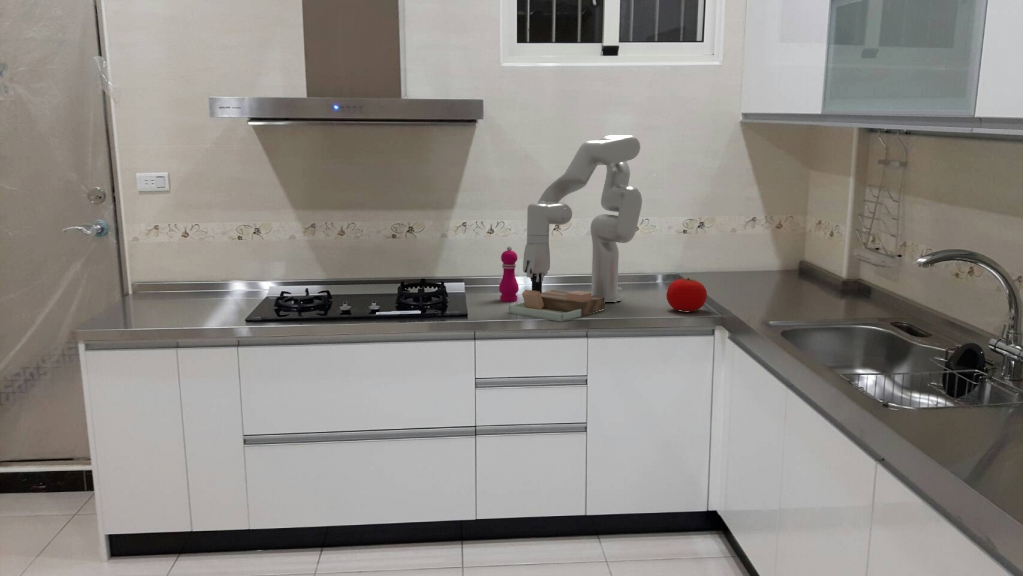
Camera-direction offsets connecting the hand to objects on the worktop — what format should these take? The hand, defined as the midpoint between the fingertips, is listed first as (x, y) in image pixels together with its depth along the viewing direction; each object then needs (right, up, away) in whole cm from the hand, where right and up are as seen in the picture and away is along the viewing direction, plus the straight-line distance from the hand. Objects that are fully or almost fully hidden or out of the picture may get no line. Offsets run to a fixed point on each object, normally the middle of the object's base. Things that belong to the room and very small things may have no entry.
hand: (536, 292), depth 275 cm
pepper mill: (-10, -3, +18) cm, 20 cm away
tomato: (+52, -7, +2) cm, 52 cm away
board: (+11, -6, +3) cm, 12 cm away
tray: (+2, -7, -7) cm, 10 cm away
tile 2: (+14, -2, -4) cm, 15 cm away
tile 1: (-1, -2, 0) cm, 2 cm away
